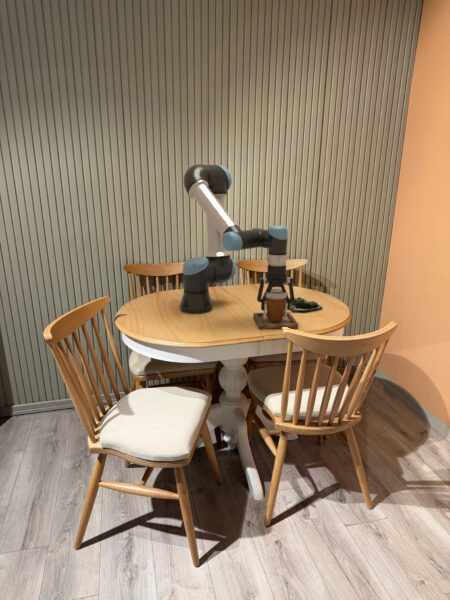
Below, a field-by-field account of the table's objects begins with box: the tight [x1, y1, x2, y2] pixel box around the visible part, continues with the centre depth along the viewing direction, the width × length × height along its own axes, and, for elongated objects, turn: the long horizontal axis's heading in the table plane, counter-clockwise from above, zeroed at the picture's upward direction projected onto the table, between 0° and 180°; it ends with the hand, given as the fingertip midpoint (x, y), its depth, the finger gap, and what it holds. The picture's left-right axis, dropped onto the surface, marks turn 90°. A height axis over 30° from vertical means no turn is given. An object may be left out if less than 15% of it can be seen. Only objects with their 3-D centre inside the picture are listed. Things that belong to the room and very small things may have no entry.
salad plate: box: [289, 296, 323, 314], centre depth 198 cm, size 19×18×5 cm
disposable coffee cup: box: [263, 288, 288, 321], centre depth 174 cm, size 10×10×12 cm
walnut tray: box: [253, 311, 299, 330], centre depth 176 cm, size 16×16×2 cm
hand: (275, 317), depth 175 cm, fingers closed on disposable coffee cup, 8 cm apart
